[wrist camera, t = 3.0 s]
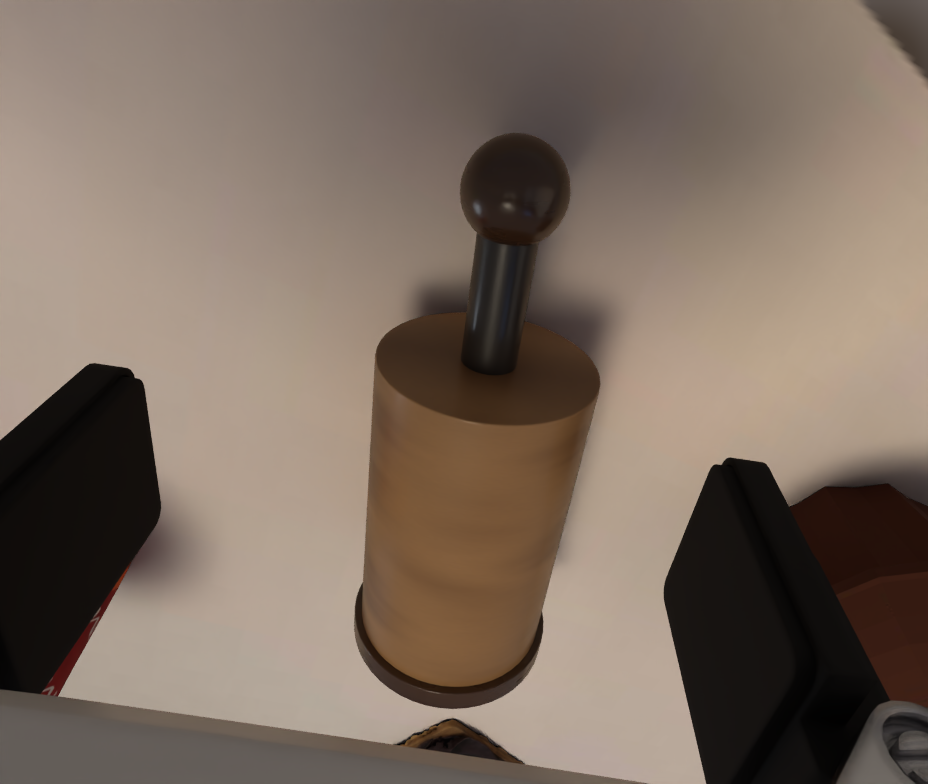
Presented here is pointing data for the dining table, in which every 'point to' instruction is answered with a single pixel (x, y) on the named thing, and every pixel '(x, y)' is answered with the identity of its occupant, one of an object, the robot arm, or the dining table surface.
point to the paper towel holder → (474, 455)
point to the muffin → (877, 576)
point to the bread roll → (458, 742)
